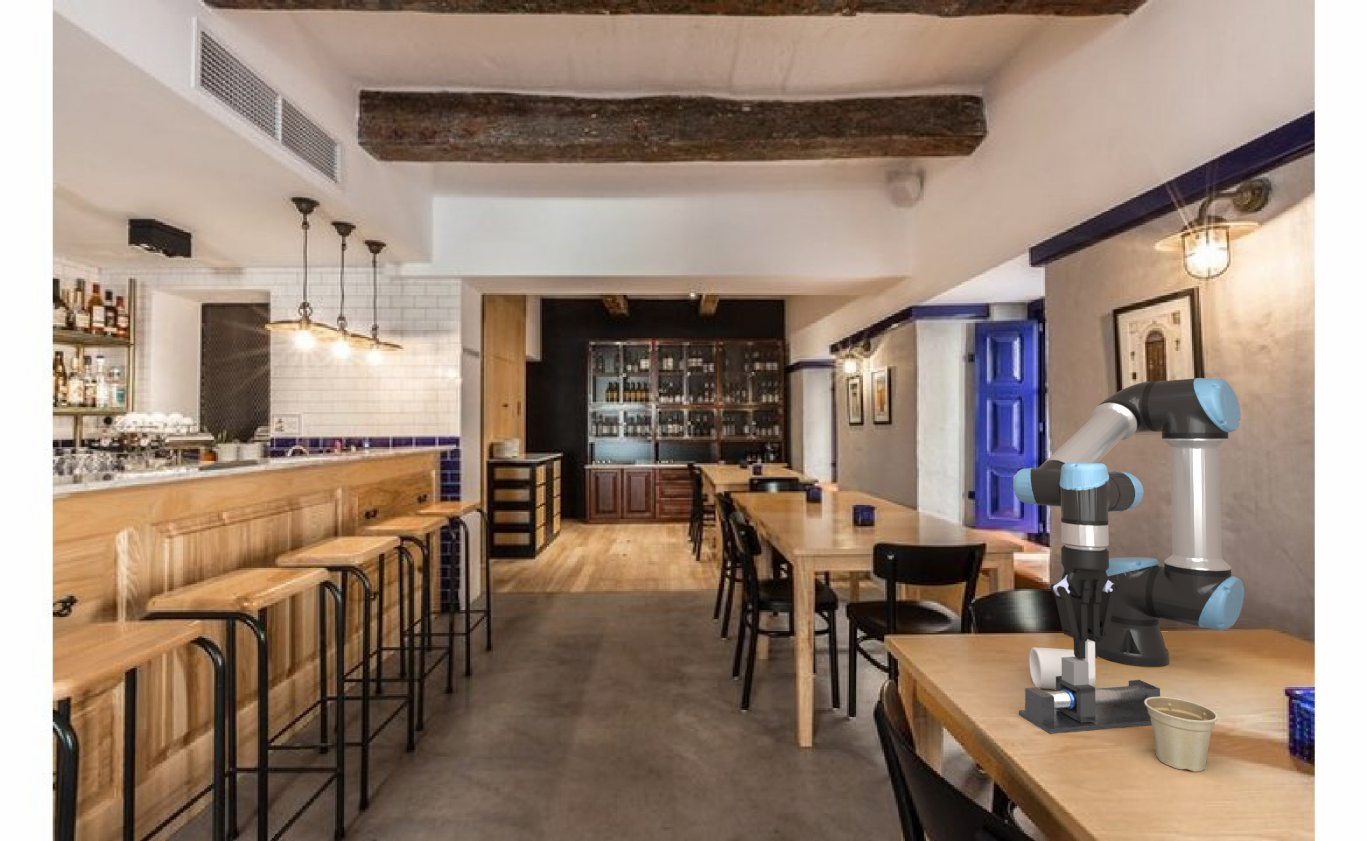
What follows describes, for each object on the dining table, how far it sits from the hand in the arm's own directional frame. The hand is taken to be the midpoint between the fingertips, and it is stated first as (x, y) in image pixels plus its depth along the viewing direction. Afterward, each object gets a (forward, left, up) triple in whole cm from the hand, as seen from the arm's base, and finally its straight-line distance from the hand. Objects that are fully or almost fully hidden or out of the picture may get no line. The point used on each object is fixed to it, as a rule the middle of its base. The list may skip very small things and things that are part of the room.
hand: (1086, 675), depth 120 cm
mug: (-7, -16, -8) cm, 20 cm away
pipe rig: (-1, 0, -8) cm, 8 cm away
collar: (+2, 0, -8) cm, 8 cm away
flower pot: (-3, +16, -8) cm, 19 cm away
